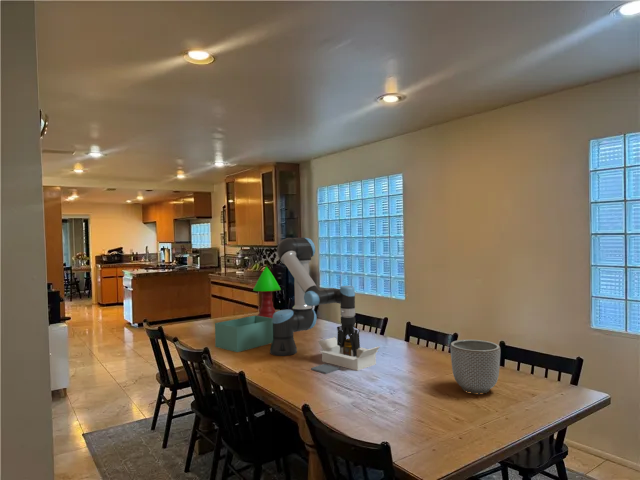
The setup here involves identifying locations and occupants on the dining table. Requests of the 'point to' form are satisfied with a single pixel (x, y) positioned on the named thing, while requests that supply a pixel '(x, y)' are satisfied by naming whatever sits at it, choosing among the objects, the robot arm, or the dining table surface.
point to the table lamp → (266, 292)
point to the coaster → (325, 368)
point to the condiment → (347, 347)
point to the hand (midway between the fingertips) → (348, 360)
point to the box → (244, 333)
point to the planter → (475, 364)
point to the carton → (334, 356)
